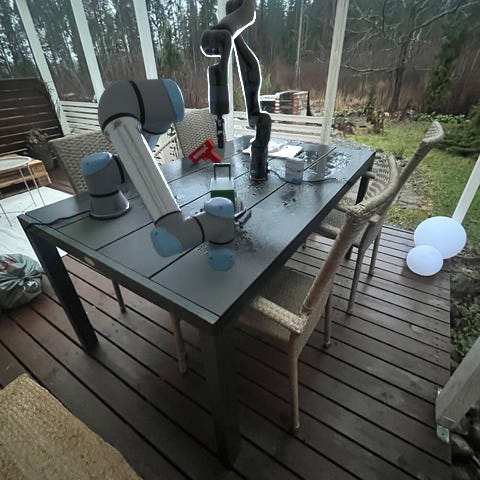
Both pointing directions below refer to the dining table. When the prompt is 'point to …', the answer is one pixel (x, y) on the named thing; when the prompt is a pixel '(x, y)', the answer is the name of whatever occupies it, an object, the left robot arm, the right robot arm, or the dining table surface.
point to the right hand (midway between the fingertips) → (221, 145)
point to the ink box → (294, 170)
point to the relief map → (280, 150)
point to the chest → (225, 195)
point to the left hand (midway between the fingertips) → (223, 204)
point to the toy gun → (205, 153)
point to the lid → (222, 181)
